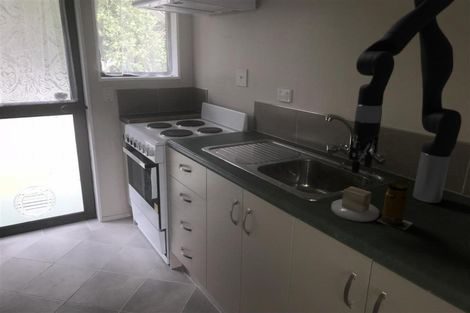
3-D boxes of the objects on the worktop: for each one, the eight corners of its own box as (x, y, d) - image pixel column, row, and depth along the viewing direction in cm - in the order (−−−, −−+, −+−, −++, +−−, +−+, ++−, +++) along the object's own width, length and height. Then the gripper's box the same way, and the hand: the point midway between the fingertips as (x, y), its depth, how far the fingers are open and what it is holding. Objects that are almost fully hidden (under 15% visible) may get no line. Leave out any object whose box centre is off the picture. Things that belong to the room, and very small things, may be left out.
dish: (345, 198, 124) (345, 195, 124) (386, 212, 114) (387, 209, 113) (322, 210, 114) (322, 206, 113) (365, 226, 103) (366, 222, 103)
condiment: (385, 214, 112) (391, 180, 109) (412, 223, 107) (419, 187, 104) (376, 221, 107) (382, 185, 104) (404, 231, 102) (412, 193, 98)
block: (348, 202, 117) (351, 186, 116) (368, 209, 113) (371, 192, 111) (341, 206, 114) (343, 189, 112) (361, 213, 109) (364, 196, 108)
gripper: (366, 115, 112) (360, 162, 117) (344, 120, 103) (339, 171, 107) (389, 118, 107) (382, 168, 112) (369, 124, 98) (362, 177, 102)
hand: (361, 169), depth 110 cm, fingers open, 8 cm apart
